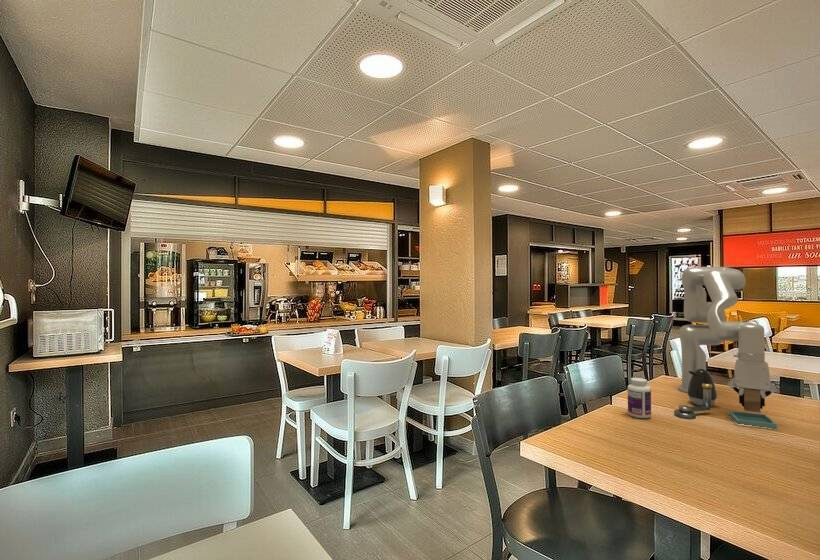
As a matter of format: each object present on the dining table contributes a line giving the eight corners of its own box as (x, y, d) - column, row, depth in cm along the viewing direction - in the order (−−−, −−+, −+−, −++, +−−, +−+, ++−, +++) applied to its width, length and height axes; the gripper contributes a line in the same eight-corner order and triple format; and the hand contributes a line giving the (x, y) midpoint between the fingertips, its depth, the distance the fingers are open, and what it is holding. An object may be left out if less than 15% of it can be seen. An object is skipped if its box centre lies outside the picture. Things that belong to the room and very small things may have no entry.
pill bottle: (645, 412, 164) (645, 377, 164) (655, 419, 156) (655, 382, 156) (624, 412, 165) (624, 376, 165) (633, 419, 157) (632, 381, 157)
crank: (685, 413, 157) (684, 387, 157) (676, 410, 161) (675, 385, 161) (715, 410, 161) (715, 385, 161) (705, 407, 165) (705, 382, 165)
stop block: (760, 412, 148) (760, 390, 148) (744, 410, 151) (744, 388, 151) (759, 409, 152) (758, 388, 152) (743, 407, 154) (743, 386, 155)
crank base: (672, 412, 164) (672, 408, 164) (693, 414, 161) (693, 410, 161) (675, 417, 158) (675, 413, 158) (697, 420, 155) (697, 416, 155)
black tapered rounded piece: (681, 400, 179) (681, 366, 179) (706, 401, 179) (705, 366, 179) (697, 408, 169) (696, 371, 169) (722, 408, 169) (722, 371, 169)
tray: (728, 416, 159) (728, 410, 159) (765, 420, 154) (765, 414, 154) (737, 425, 149) (737, 419, 149) (776, 430, 144) (776, 424, 144)
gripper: (723, 356, 153) (723, 405, 153) (783, 361, 144) (784, 413, 143) (722, 353, 159) (722, 400, 159) (780, 358, 150) (780, 408, 150)
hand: (751, 406), depth 151 cm, fingers closed on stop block, 4 cm apart
